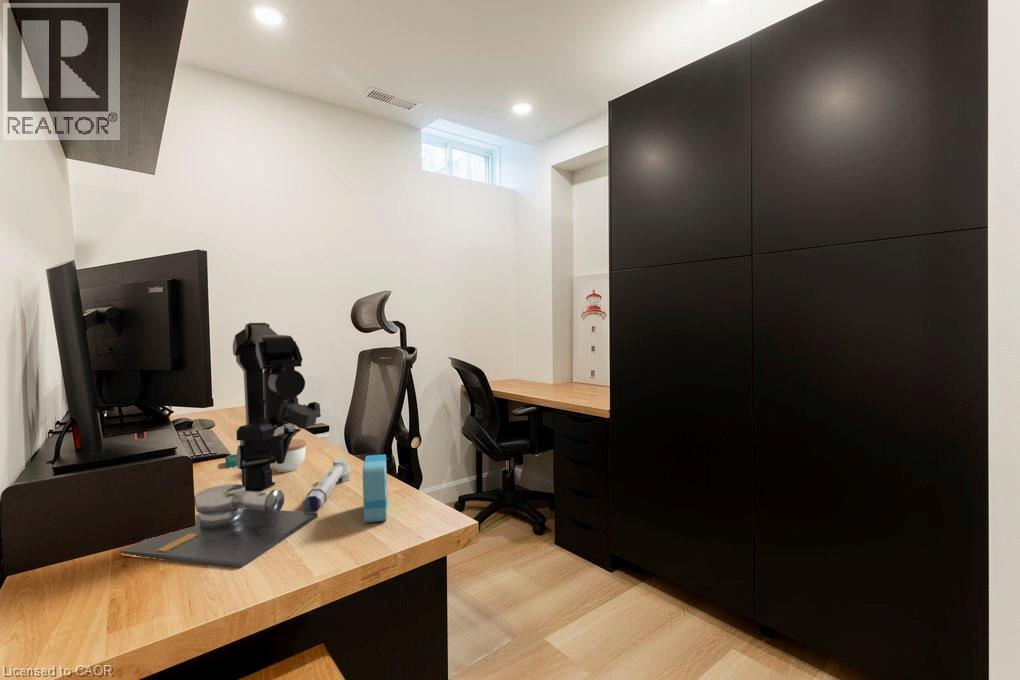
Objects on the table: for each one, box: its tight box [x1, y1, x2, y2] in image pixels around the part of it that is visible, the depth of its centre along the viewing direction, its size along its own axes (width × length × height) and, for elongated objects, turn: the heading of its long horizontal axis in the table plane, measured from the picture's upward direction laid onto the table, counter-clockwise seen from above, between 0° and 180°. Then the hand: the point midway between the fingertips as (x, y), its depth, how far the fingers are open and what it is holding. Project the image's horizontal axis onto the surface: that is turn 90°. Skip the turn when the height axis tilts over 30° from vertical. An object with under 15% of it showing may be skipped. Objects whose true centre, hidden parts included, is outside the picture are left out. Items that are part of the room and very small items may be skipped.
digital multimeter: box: [225, 454, 244, 469], centre depth 149 cm, size 7×15×3 cm, turn 124°
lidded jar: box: [270, 438, 307, 473], centre depth 140 cm, size 11×11×9 cm
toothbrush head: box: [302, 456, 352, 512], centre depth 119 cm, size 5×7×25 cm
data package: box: [362, 454, 388, 524], centre depth 105 cm, size 12×4×12 cm, turn 14°
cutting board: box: [119, 508, 318, 569], centre depth 95 cm, size 26×22×4 cm
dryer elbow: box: [195, 483, 285, 514], centre depth 99 cm, size 18×9×5 cm, turn 78°
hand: (280, 463), depth 104 cm, fingers closed
